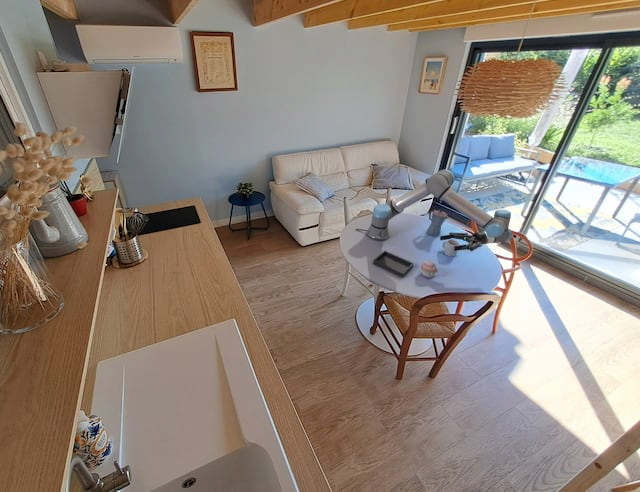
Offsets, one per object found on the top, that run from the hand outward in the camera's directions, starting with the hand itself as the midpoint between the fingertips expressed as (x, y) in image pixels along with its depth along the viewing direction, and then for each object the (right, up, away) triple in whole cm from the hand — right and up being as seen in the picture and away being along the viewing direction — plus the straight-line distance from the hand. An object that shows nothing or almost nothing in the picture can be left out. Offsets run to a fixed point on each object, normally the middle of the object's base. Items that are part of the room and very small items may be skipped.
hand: (447, 243), depth 167 cm
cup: (+15, -8, +25) cm, 31 cm away
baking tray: (-27, -15, +14) cm, 34 cm away
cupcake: (-9, -20, +6) cm, 22 cm away
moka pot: (+17, +4, +48) cm, 51 cm away
